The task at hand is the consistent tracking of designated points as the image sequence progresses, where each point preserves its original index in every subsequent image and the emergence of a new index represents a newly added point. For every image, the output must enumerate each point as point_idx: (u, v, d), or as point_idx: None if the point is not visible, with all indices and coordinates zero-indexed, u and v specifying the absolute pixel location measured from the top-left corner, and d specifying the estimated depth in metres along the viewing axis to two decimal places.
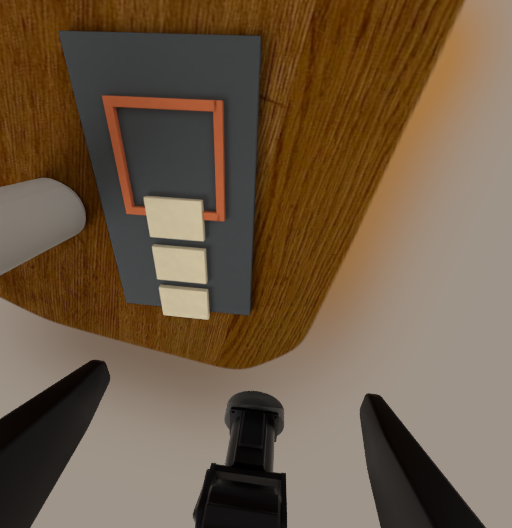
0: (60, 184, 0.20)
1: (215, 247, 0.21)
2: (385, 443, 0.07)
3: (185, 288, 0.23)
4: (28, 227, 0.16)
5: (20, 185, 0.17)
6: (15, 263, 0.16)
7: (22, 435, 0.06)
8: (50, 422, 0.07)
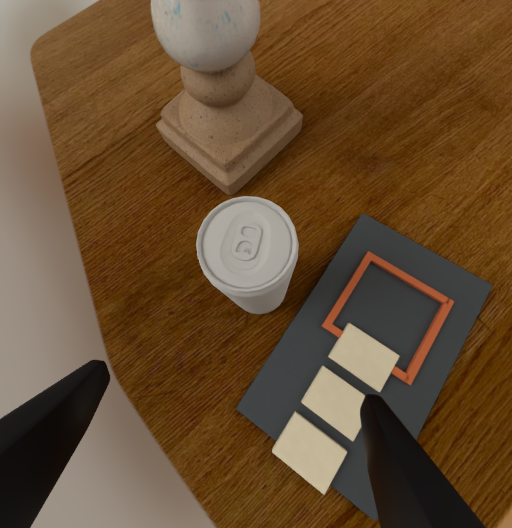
0: None
1: None
2: (385, 443, 0.07)
3: (322, 432, 0.19)
4: None
5: None
6: (265, 305, 0.16)
7: (22, 435, 0.06)
8: (50, 422, 0.07)
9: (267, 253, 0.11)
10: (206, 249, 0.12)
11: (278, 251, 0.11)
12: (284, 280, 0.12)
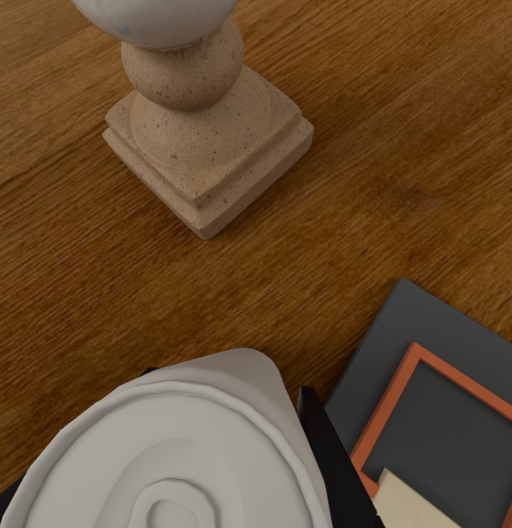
0: None
1: None
2: (305, 432, 0.07)
3: None
4: None
5: (272, 364, 0.12)
6: None
7: None
8: None
9: None
10: None
11: None
12: None
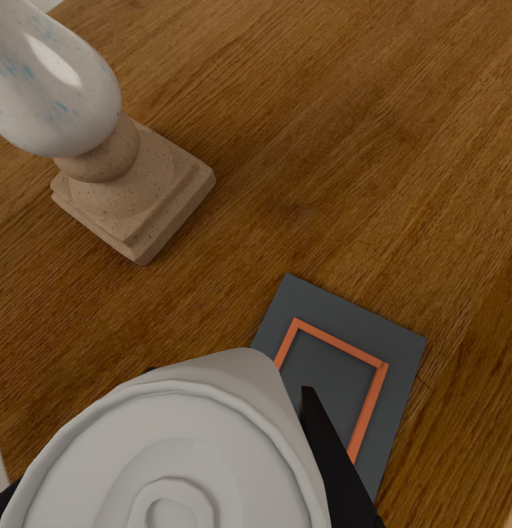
0: None
1: None
2: (305, 432, 0.07)
3: None
4: None
5: (272, 363, 0.12)
6: None
7: None
8: None
9: None
10: None
11: None
12: None
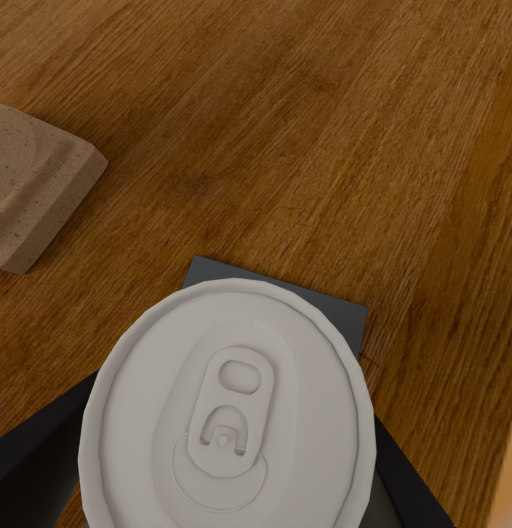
0: None
1: None
2: None
3: None
4: None
5: None
6: None
7: (46, 438, 0.06)
8: (72, 425, 0.07)
9: (293, 455, 0.04)
10: (112, 428, 0.04)
11: (322, 446, 0.04)
12: None
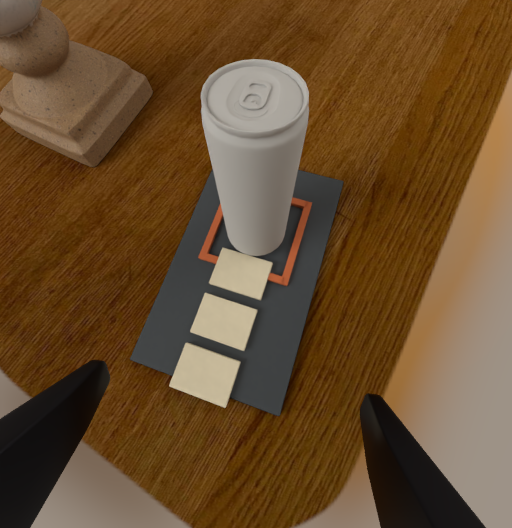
0: None
1: (267, 311, 0.20)
2: (385, 443, 0.07)
3: (215, 353, 0.19)
4: (289, 205, 0.16)
5: None
6: (266, 211, 0.15)
7: (22, 435, 0.06)
8: (50, 422, 0.07)
9: (278, 104, 0.11)
10: (211, 100, 0.11)
11: (289, 103, 0.11)
12: (294, 136, 0.11)
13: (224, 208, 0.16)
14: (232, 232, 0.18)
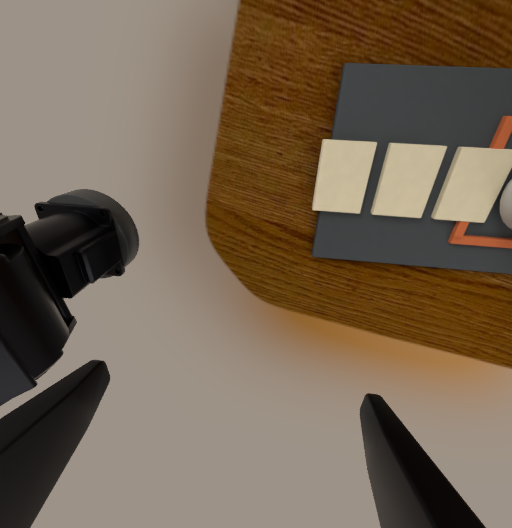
0: None
1: (416, 227, 0.18)
2: (385, 443, 0.07)
3: None
4: None
5: None
6: None
7: (22, 435, 0.06)
8: (50, 422, 0.07)
9: None
10: None
11: None
12: None
13: None
14: None
